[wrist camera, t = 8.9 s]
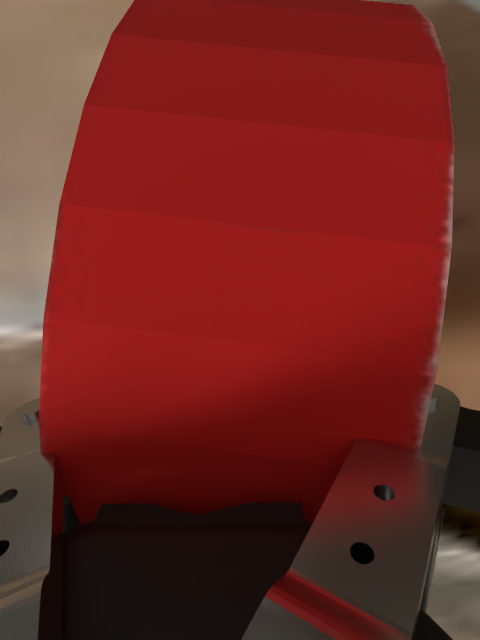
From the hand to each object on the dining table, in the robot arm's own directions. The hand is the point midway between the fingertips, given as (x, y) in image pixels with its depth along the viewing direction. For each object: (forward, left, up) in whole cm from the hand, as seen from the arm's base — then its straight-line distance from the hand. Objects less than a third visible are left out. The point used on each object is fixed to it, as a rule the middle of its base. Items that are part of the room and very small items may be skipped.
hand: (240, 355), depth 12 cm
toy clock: (0, 0, -14) cm, 14 cm away
